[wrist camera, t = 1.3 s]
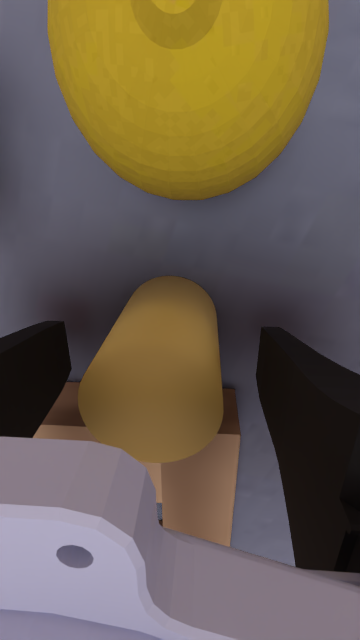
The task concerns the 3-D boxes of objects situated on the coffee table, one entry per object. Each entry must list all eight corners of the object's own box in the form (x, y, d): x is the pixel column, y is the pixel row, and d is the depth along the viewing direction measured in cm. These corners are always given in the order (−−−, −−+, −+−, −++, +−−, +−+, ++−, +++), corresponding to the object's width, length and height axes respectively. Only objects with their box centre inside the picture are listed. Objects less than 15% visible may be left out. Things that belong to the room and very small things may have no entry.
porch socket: (234, 389, 16) (254, 537, 9) (220, 567, 21) (226, 735, 15) (-46, 377, 17) (-204, 504, 10) (12, 551, 22) (-66, 702, 16)
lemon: (96, 16, 10) (-163, -353, 3) (277, -22, 10) (495, -613, 2) (130, 201, 13) (27, 241, 5) (280, 180, 12) (397, 192, 5)
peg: (218, 276, 14) (228, 346, 8) (214, 360, 15) (219, 466, 10) (122, 274, 14) (68, 341, 8) (128, 357, 15) (86, 459, 10)
